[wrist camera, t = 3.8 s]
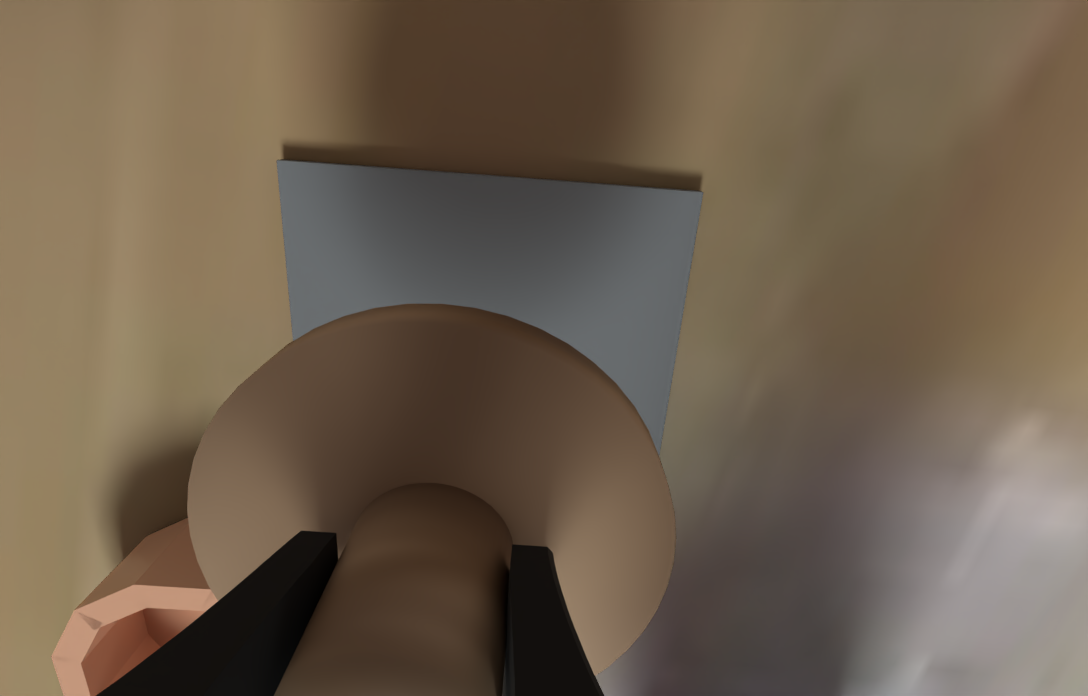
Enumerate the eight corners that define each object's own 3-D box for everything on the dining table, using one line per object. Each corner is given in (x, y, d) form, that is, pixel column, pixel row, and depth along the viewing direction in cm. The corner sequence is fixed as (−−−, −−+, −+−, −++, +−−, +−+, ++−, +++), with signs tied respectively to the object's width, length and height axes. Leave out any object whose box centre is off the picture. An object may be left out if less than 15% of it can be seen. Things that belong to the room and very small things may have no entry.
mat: (699, 190, 17) (702, 192, 16) (644, 529, 21) (645, 536, 21) (282, 159, 16) (276, 160, 16) (313, 507, 21) (308, 515, 20)
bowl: (354, 522, 21) (318, 596, 18) (364, 696, 24) (335, 785, 21) (107, 506, 21) (25, 577, 18) (150, 683, 24) (88, 771, 21)
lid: (699, 319, 10) (806, 463, 6) (636, 685, 13) (676, 941, 9) (180, 287, 10) (-88, 412, 6) (248, 664, 13) (109, 915, 9)
